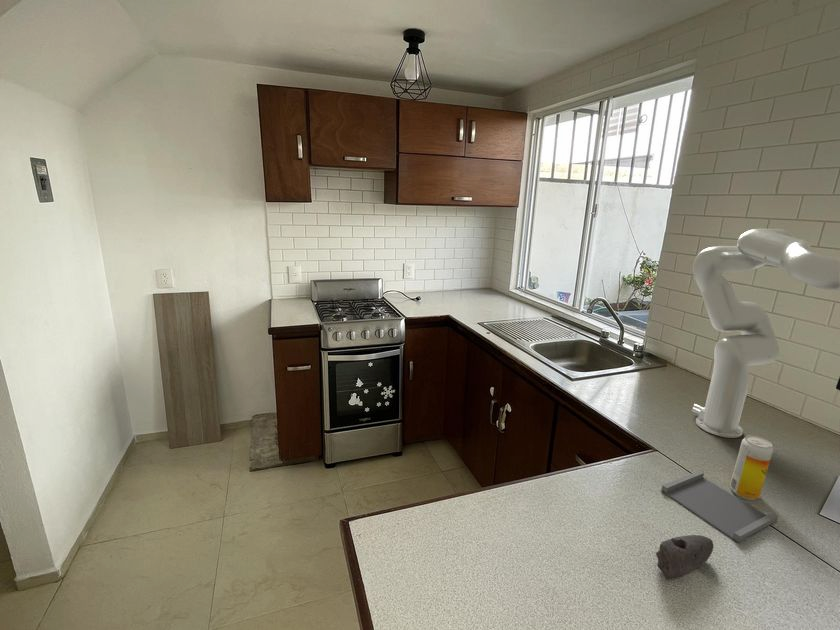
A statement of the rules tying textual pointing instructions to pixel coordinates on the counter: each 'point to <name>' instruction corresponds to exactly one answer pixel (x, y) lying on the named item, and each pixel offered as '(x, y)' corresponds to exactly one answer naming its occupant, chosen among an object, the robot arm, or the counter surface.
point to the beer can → (751, 467)
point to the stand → (718, 506)
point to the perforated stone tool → (683, 555)
